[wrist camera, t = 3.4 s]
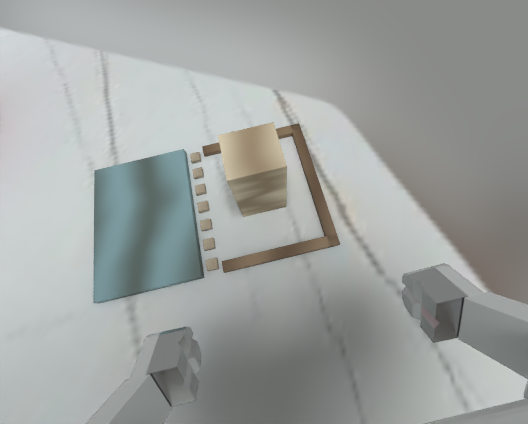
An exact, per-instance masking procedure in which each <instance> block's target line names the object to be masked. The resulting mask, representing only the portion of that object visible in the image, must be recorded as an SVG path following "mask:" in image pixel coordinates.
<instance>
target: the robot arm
mask: <svg viewBox="0 0 528 424" xmlns="http://www.w3.org/2000/svg"><path fill="white" fill-rule="evenodd" d="M402 283H403V284H404V285H405V286H406V287H405V288H404V289H403V291H402V299H403V302H404V305H405V307H406V309H407V311H408V312H409V313H410V315H411V316H412V317H414V318H416V319H418V320H420V327H421V328H422V330H423V331H424V332H425V333H426V335H427V336H428V337H429V338H430V339H431V341H432V342H433V343H435V342H440V341H444V340H449V339H454V338H458V339H459V340H461V341H463V342H464V343H466V344H468V345H470V346H471V347H473V348H475V349H477V350H478V351H480V352H482V353H483V354H485V355H487V356H489V357H490V358H492V359H494V360H496V361H497V362H499V363H501V364H502V365H504V366H506V367H508V368H509V369H511V370H513V371H515V372H516V373H518V374H520V375H521V376H523V377H525V378H527V379H528V305H527V304H524V303H521V302H518V301H515V300H512V299H509V298H506V297H503V296H499V295H496V294H494V293H491V292H486V293H484V292H483V291H481V290H480V289H479V288H477V287H476V286H475V285H474V284H472V283H471V282H470V281H468V280H467V279H466V278H465V277H463V276H462V275H461V274H459V273H458V272H457V271H456V270H454V269H453V268H452V267H451V266H449V265H448V264H445V263H444V264H440V265H436V266H432V267H428V268H424V269H420V270H416V271H412V272H408V273H404V274H403V276H402ZM192 336H193V332H192V330H191V328H190V327H183V328H178V329H174V330H169V331H164V332H161V333H156V334H152V335H148V336H147V337H146V338H145V340H144V343H143V346H142V348H141V351H140V353H139V356H138V359H137V361H136V364H135V367H134V369H133V372H132V374H131V377H130V379H128V380H125V381H124V382H123V383H122V385H121V386H120V387H119V388H118V389H117V390H116V391H115V392H114V393H113V394H112V395H111V397H110V398H109V399H108V400H107V401H106V402H105V403H104V404H103V405H102V406H101V407H100V409H99V410H98V411H97V412H96V413H95V414H94V415H93V416H92V417H91V418H90V419H89V421H88V422H87V423H86V424H163V423H164V421H165V420H166V418H167V416H168V415H169V413H170V411H171V410H172V408H171V407H174V406H178V405H182V404H185V403H189V402H193V401H196V396H197V389H198V379H197V377H196V374H197V372H198V371H199V369H200V366H201V352H200V348H199V345H198V342H197V341H196V340H194V339H192ZM524 398H525V399H523V400H519V401H515V402H511V403H507V404H503V405H499V406H494V407H490V408H486V409H482V410H478V411H474V412H470V413H466V414H461V415H457V416H453V417H449V418H445V419H441V420H437V421H433V422H428V423H424V424H528V381H527V384H526V387H525V390H524Z"/></svg>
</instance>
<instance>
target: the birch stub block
mask: <svg viewBox="0 0 528 424" xmlns="http://www.w3.org/2000/svg"><path fill="white" fill-rule="evenodd" d="M218 139H219V144H220V149H221V154H222V159H223V164H224V169H225V174H226V179H227V182H228V184H229V186H230V189H231V191H232V193H233V195H234V197H235V199H236V201H237V204H238V206H239V208H240V210H241V212H242V214H243V216H244V217H245V216H249V215H253V214H257V213H262V212H266V211H270V210H274V209H278V208H282V207H286V184H287V166H286V162H285V159H284V156H283V152H282V149H281V145H280V142H279V139H278V135H277V132H276V129H275V125H274V122H272V123H268V124H264V125H260V126H256V127H251V128H247V129H243V130H239V131H235V132H231V133H226V134H222V135H218Z"/></svg>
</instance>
